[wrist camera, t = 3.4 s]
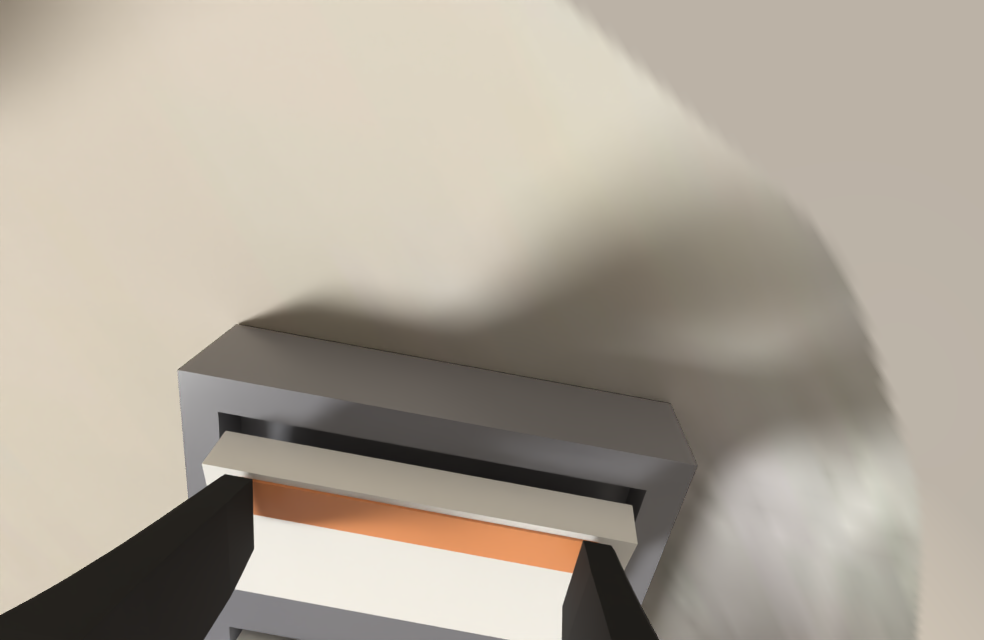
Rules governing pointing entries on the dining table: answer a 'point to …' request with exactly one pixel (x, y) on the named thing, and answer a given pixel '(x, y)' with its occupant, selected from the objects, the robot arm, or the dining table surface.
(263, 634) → the orange-striped cream panel
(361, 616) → the grey divided tray
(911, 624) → the dining table surface
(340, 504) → the rocker
